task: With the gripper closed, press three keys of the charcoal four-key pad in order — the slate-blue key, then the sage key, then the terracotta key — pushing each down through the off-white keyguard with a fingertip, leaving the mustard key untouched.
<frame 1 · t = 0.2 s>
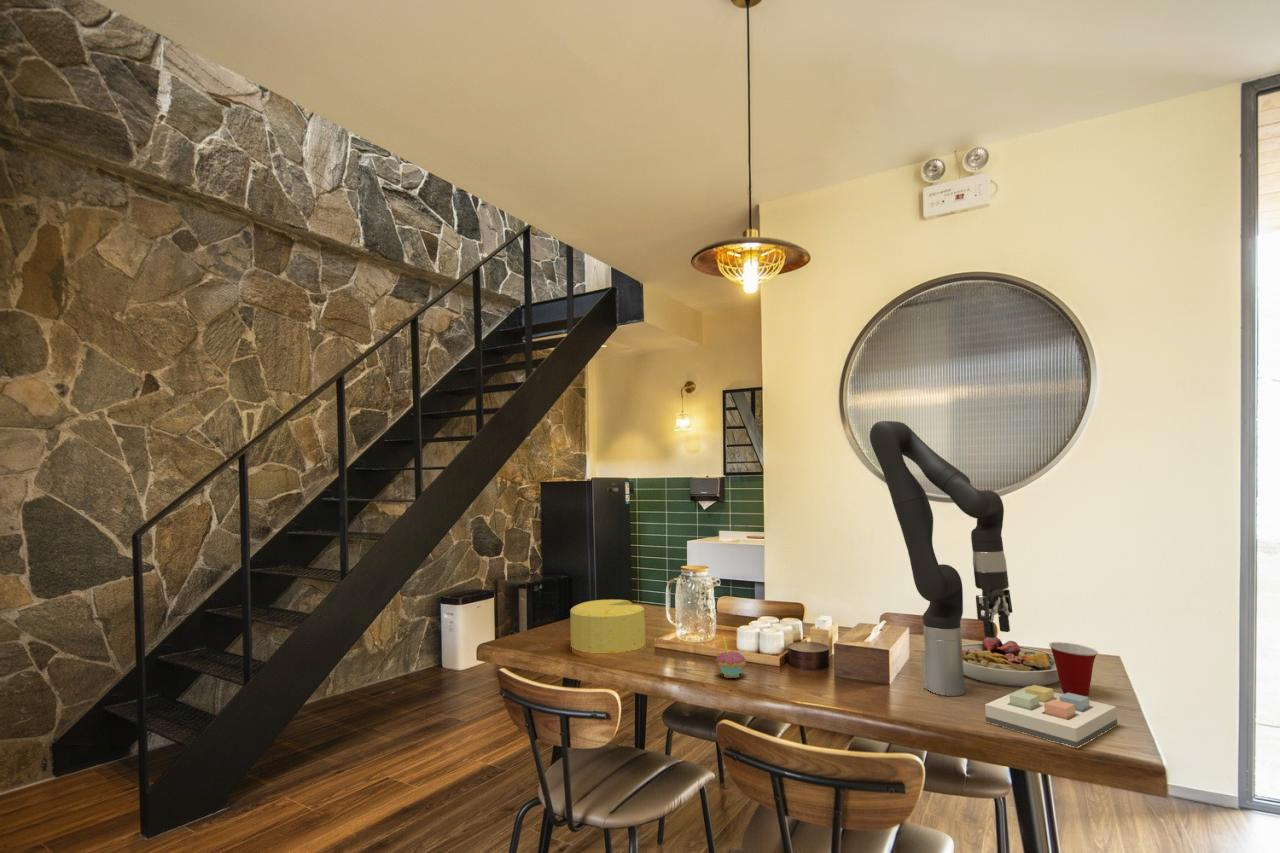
hand: (997, 634, 164), 17 cm above the table, tool pointing down, fingers open, 8 cm apart
key mustard: (1039, 693, 156), point 5 cm above the table, slide at 0.0 cm
plastic cup: (1076, 694, 171), on the table
cupcake: (731, 677, 193), on the table
keypad board: (1051, 724, 151), on the table
key sage: (1024, 700, 152), point 5 cm above the table, slide at 0.0 cm
cheese: (608, 649, 228), on the table
key slate: (1074, 702, 150), point 5 cm above the table, slide at 0.0 cm
key terracotta: (1059, 709, 146), point 5 cm above the table, slide at 0.0 cm
bowl: (1005, 674, 189), on the table
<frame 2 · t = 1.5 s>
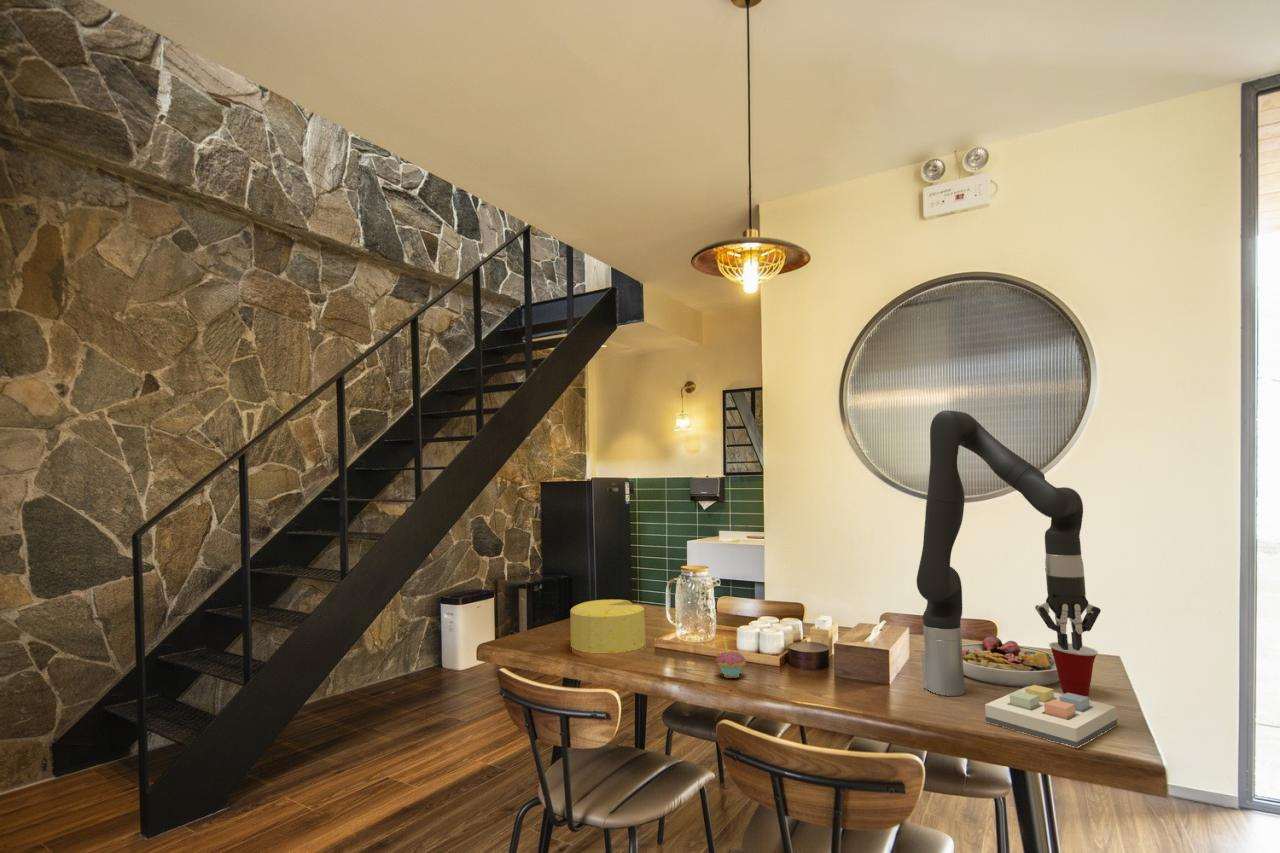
hand: (1070, 649, 151), 17 cm above the table, tool pointing down, fingers closed
nothing on the table moved.
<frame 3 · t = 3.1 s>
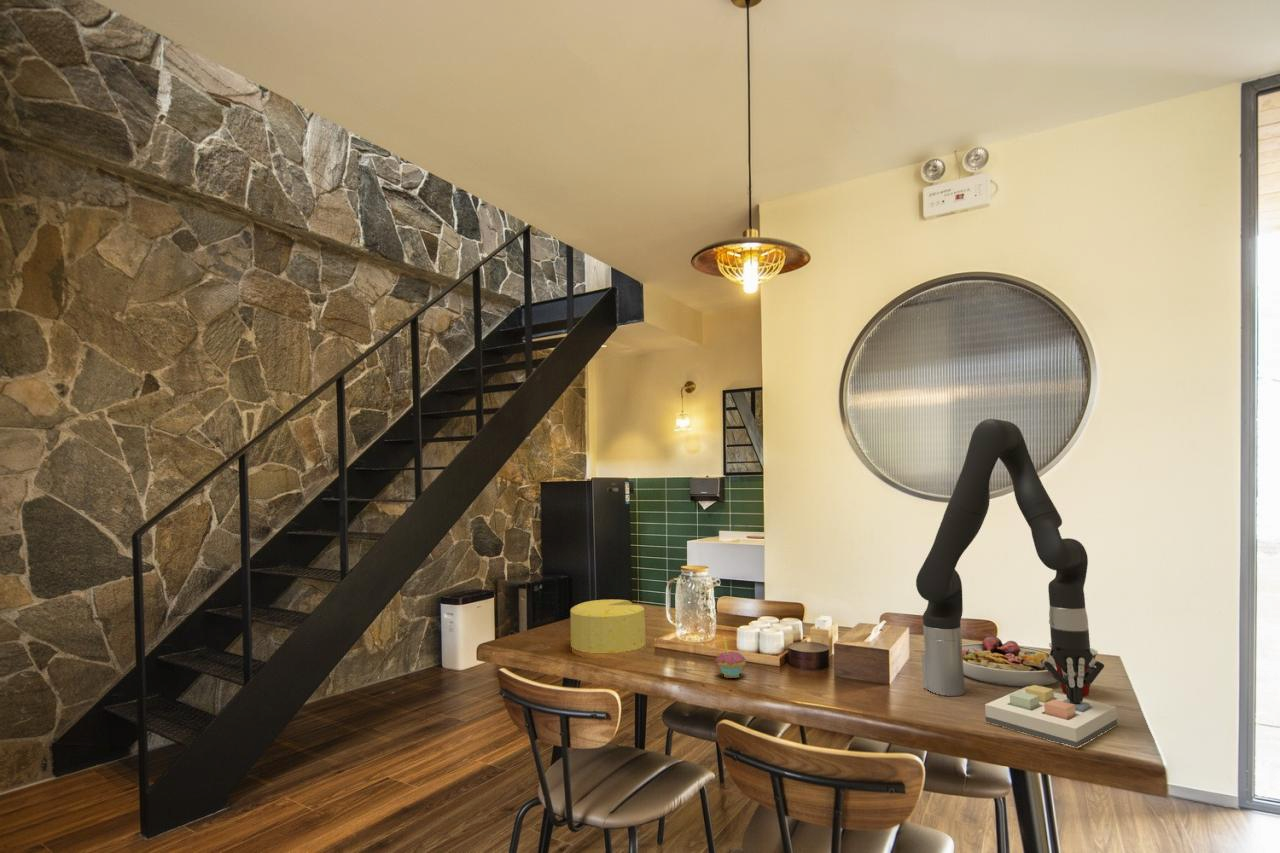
hand: (1075, 702, 150), 5 cm above the table, tool pointing down, fingers closed
key slate: (1075, 708, 150), point 4 cm above the table, slide at 1.4 cm, touching gripper
everything else where it was.
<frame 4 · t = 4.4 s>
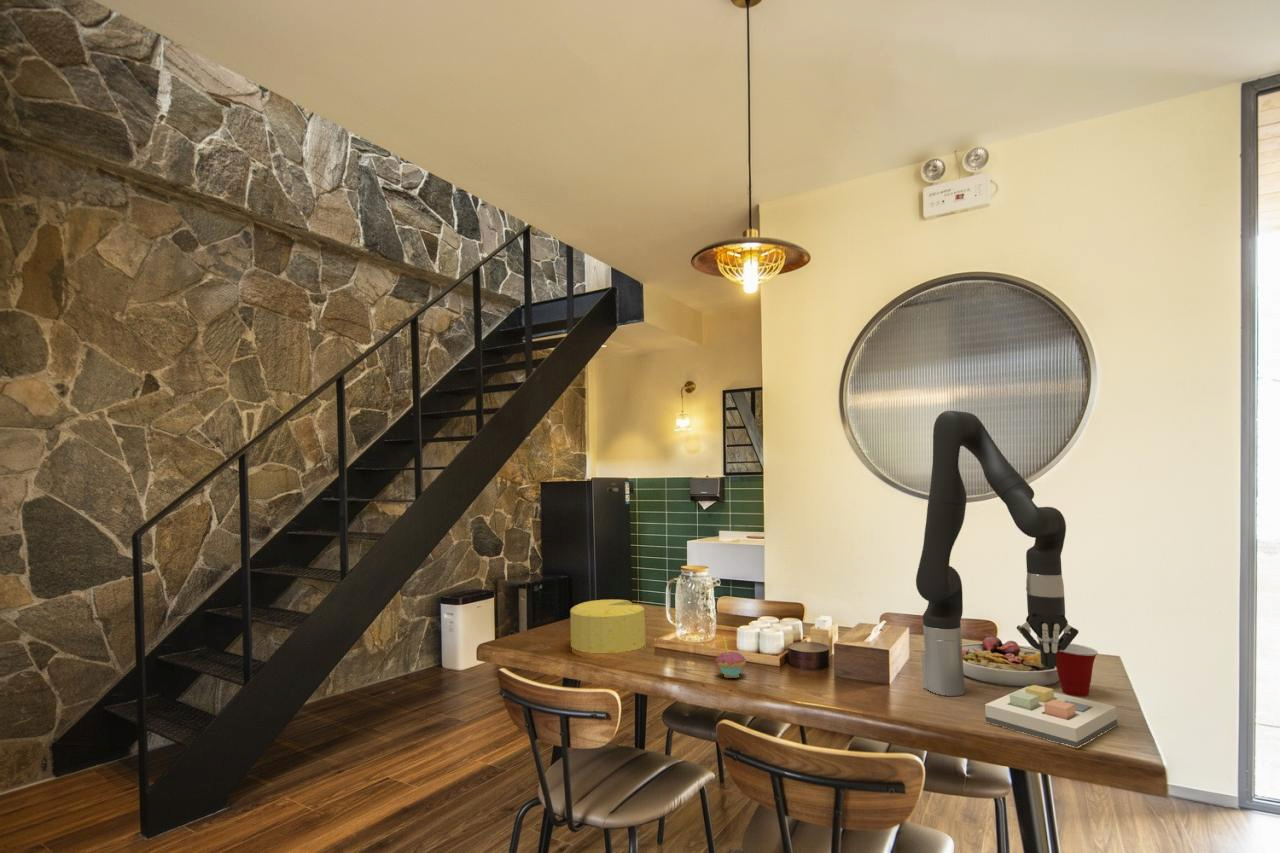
hand: (1049, 668, 152), 12 cm above the table, tool pointing down, fingers closed
key slate: (1075, 711, 150), point 3 cm above the table, slide at 2.0 cm
everything else where it was.
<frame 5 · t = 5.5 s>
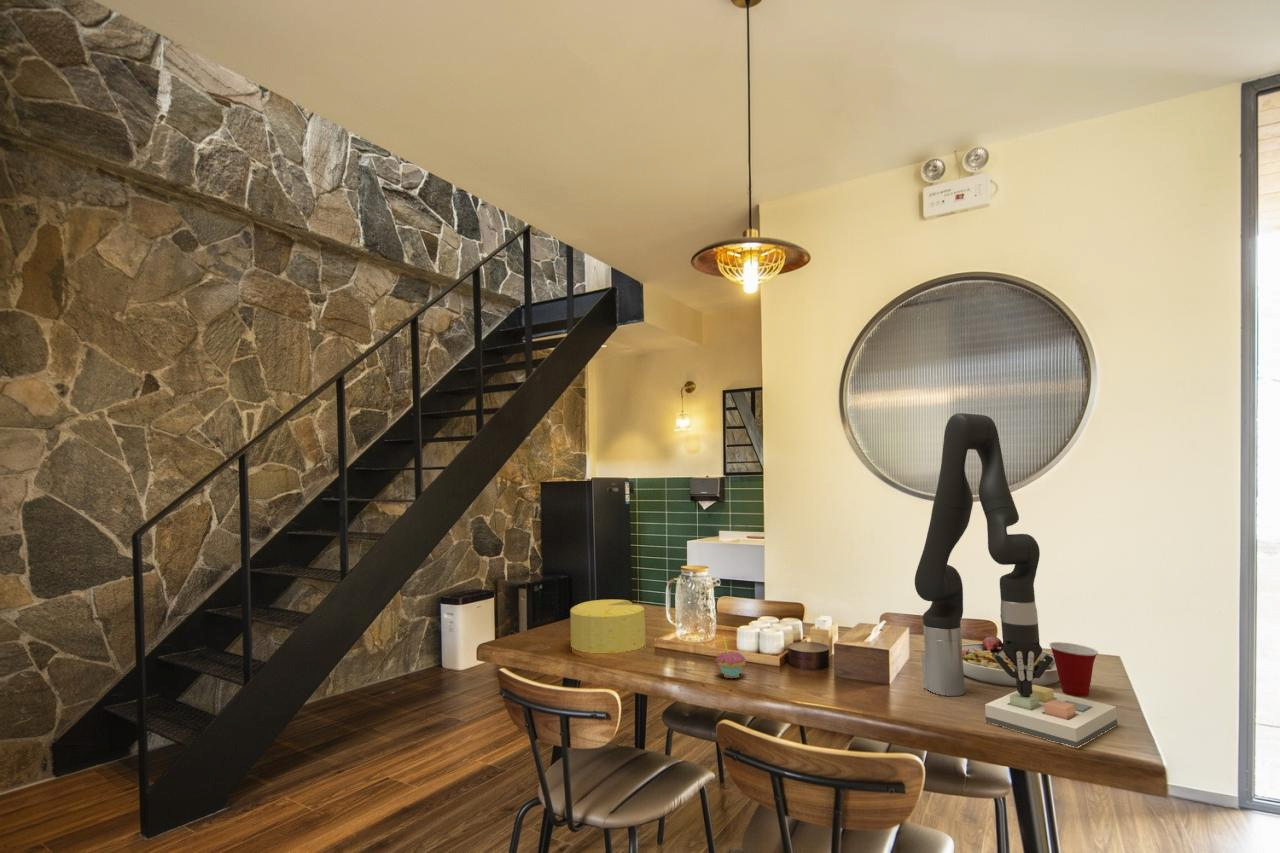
hand: (1025, 695, 152), 6 cm above the table, tool pointing down, fingers closed
key sage: (1024, 701, 152), point 5 cm above the table, slide at 0.1 cm, touching gripper
everything else where it was.
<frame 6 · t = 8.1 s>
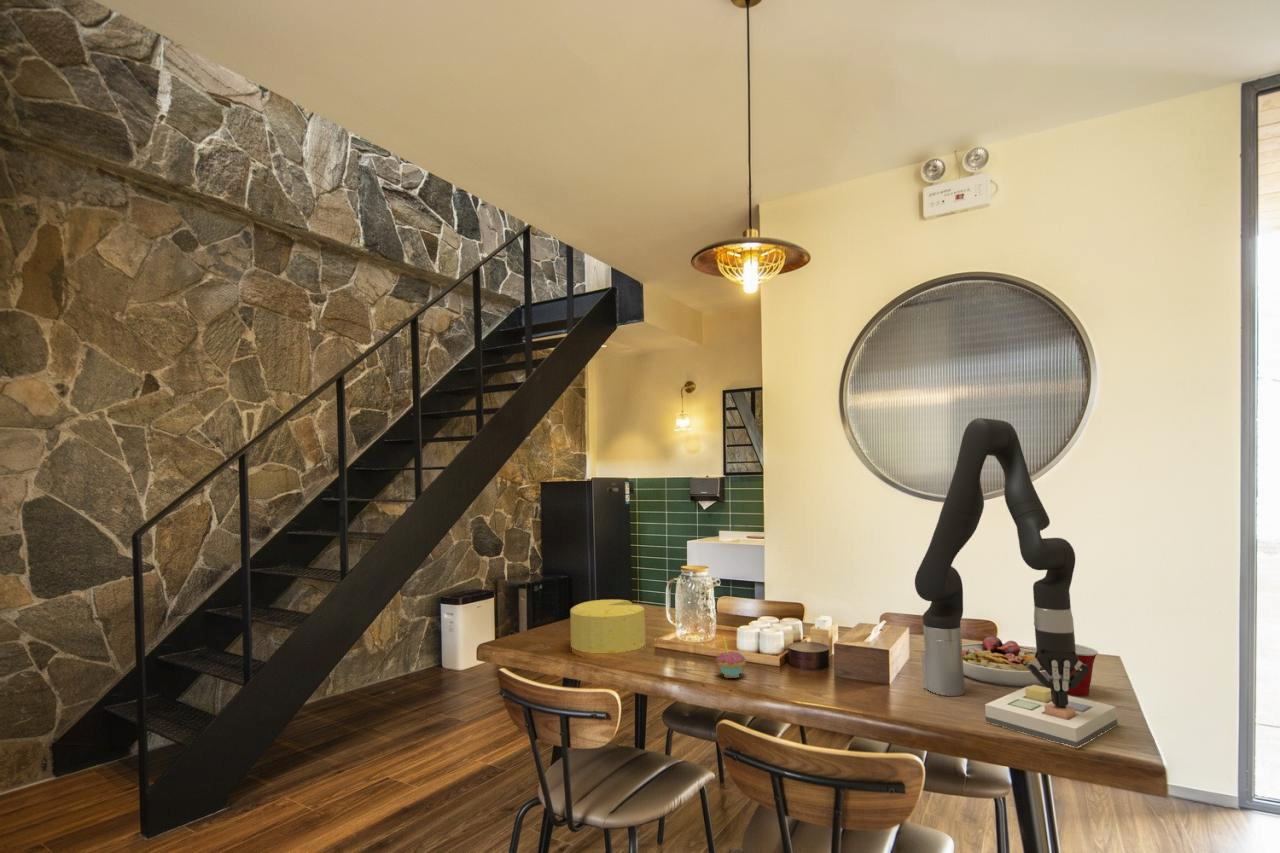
hand: (1060, 706, 146), 6 cm above the table, tool pointing down, fingers closed
key sage: (1025, 709, 152), point 3 cm above the table, slide at 2.0 cm
key terracotta: (1060, 712, 146), point 5 cm above the table, slide at 0.6 cm, touching gripper
everything else where it was.
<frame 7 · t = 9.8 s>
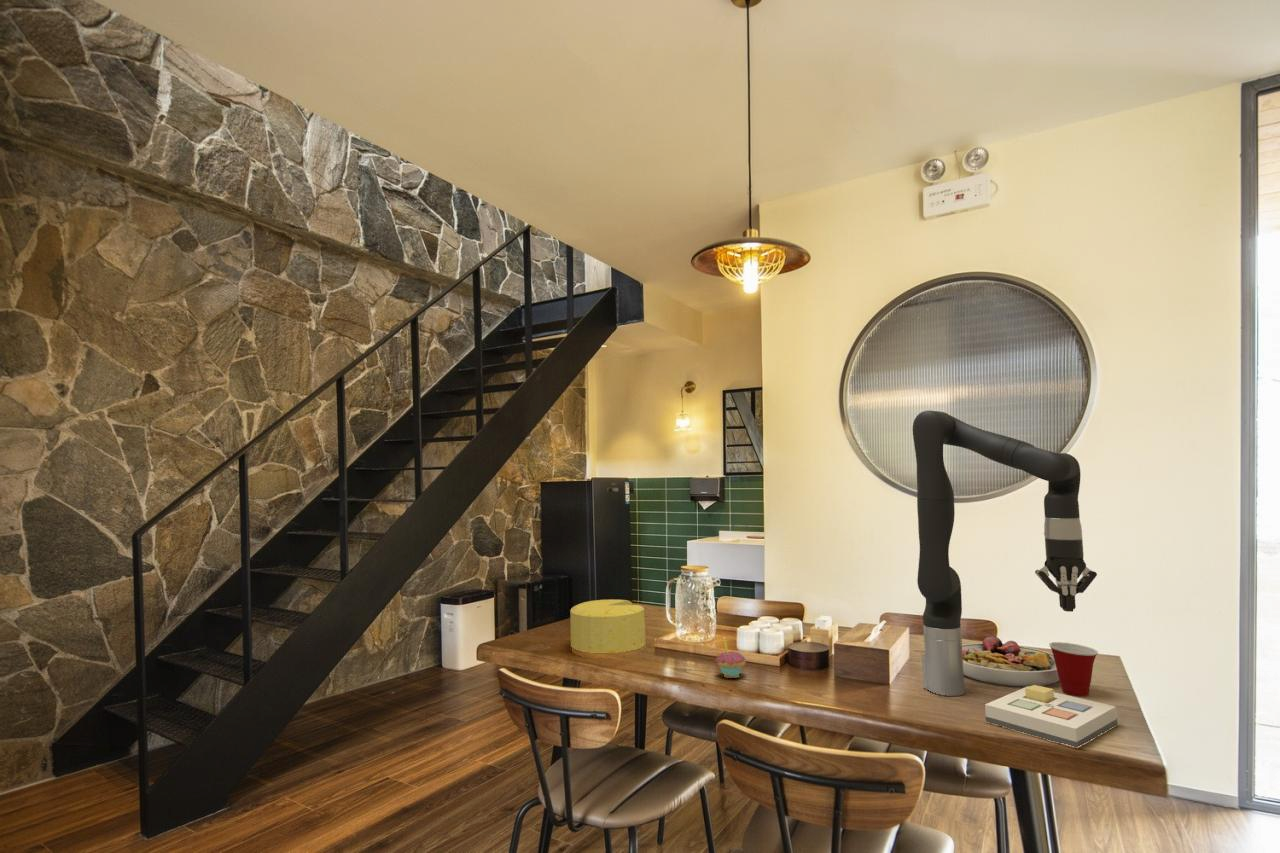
hand: (1068, 610, 154), 25 cm above the table, tool pointing down, fingers closed
key terracotta: (1060, 718, 146), point 3 cm above the table, slide at 2.0 cm
everything else where it was.
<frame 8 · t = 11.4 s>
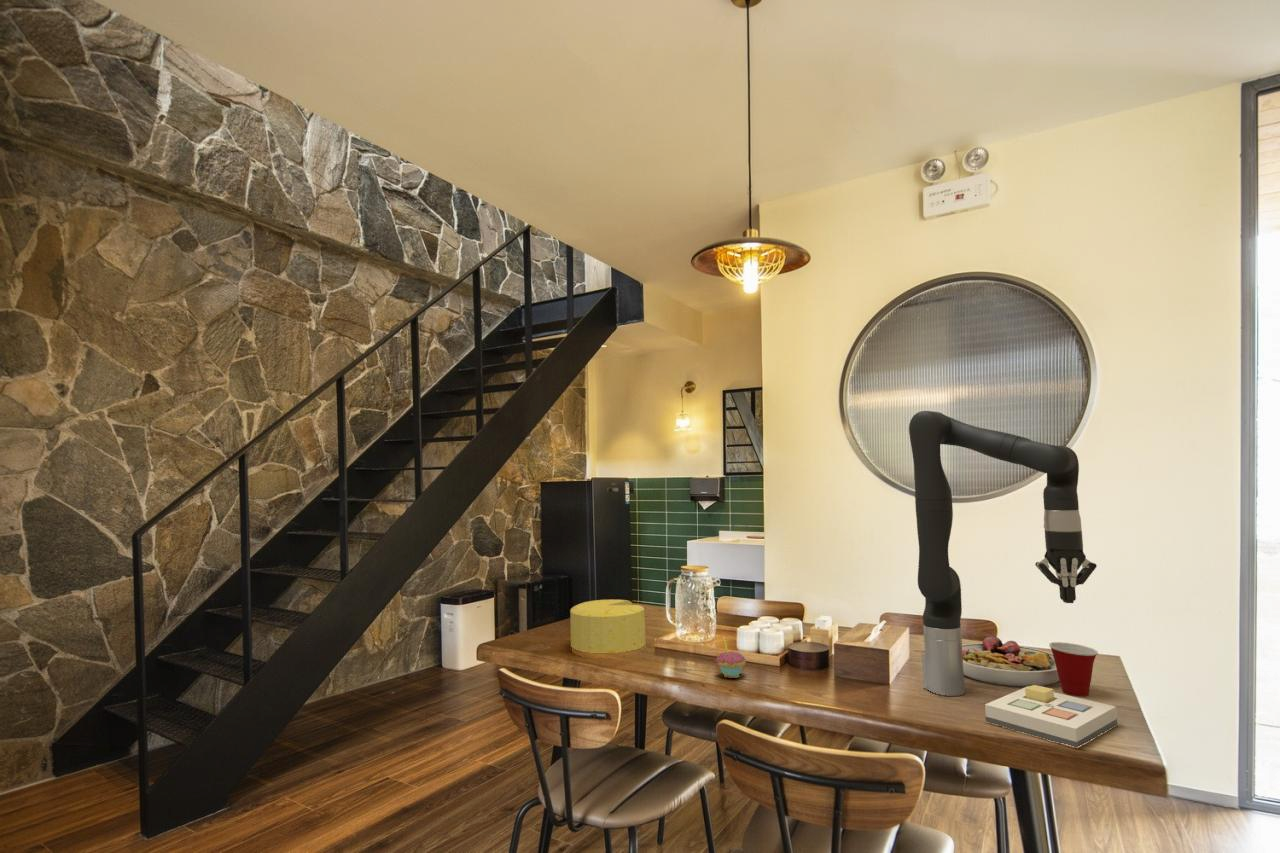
hand: (1068, 602, 155), 27 cm above the table, tool pointing down, fingers closed
nothing on the table moved.
at the end: key slate slide at 2.0 cm; key sage slide at 2.0 cm; key terracotta slide at 2.0 cm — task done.
